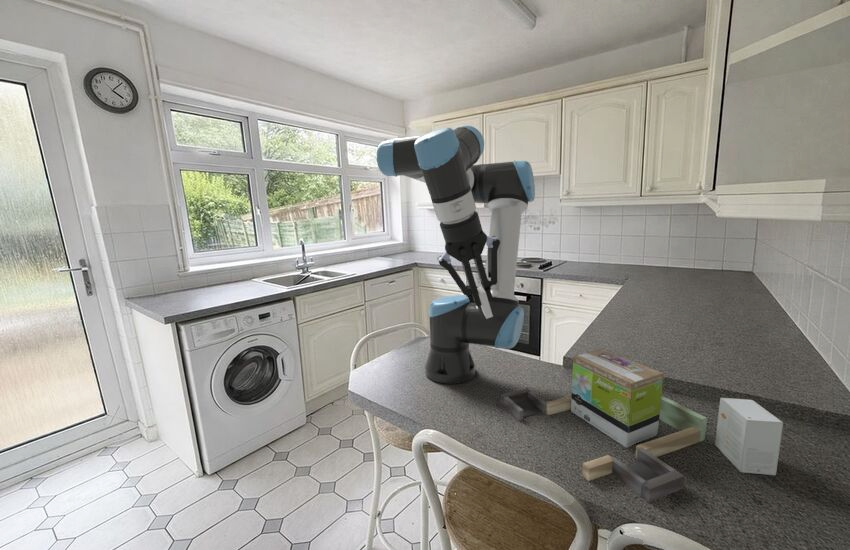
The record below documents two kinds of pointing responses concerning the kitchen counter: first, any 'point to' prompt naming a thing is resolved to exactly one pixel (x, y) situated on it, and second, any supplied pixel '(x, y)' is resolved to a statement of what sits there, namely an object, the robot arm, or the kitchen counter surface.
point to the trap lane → (649, 472)
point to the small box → (748, 436)
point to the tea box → (617, 395)
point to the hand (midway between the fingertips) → (487, 314)
